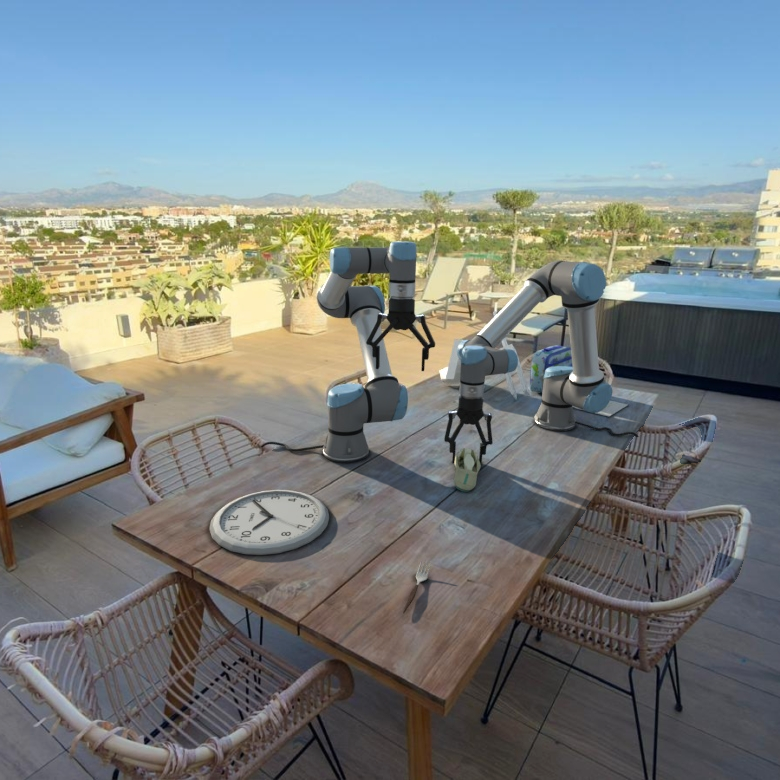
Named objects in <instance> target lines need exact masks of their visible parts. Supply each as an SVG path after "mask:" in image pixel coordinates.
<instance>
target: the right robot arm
mask: <svg viewBox="0 0 780 780" xmlns="http://www.w3.org/2000/svg"><path fill="white" fill-rule="evenodd" d="M522 284H523V285H522V288H521V289H520V290H519V291H518V292H517V293H516V294H515V295H514V297H512V298H511V299H510V300H509V301H508V302H507V303H506V305H504V307H502V309H500V311H498V312H497V315H496V316H495V317H494V316H493V317H492V319H490V321H489V322H488V323H487V324H485V326H483V328H481V330H480V331H479V332H477V334H476V335H475V336H474V337H473V338H472V339H463V340H464V341H462V342H461V343H460V344H459V346H458V348H457V355H458V358H459V359H460V360H461V372H460V383H459V388H458V393H459V396H458V407H457V410H455V411H454V410H453V411H452V410H448V413H447V415H448V416H447V417H448V421H447V425H446V429H445V433H444V438H443V439H444V440H443V441H444V442H445V443H448V444H449V450H448V451H449V453H450V454H452V461H451V462H452V464H455V457H456V447H457V442H456V440H457V438H458V436H459V434H460V432H461V431H462V429H463V427H464V425H472V426H475V429H476V430H477V434H478V436H479V438H480V441H481V442H479V453H478V459H479V461H480V464H481V466H482V464H483V456H485V455H486V454H487V447H488V446H489V445H491V446H492V445H493V443H494V442H493V434H492V424H491V423H492V419H493V415H492V413H491V412H484V410H483V407H484V397H483V396H484V392H485V381H486V377H488V376H489V377H490V376H495V375H502V374H504V375H505V374H506V373H509V372H510V373H513V372H515V371H516V370H517V369H516V368H517V366H518V359H519V356H518V357H517V355H518V353H517V354H516V353H515V352H514V351H513V350H511V349H503V350H498V349H499V348H497V346H498V345H500V343H502V340H503V339H504V338H505V337H506V338H507V337H508V336H509V334H510V333H511V332H512V331H513V330H514V329H515V328H516V327H517V326H518V325H519V324H520V323H521V322H522V321H523V320H524V319H525V318H526V317H527V316H528V315H529V314H530V313H531V312H532V311H533V310H534V309H535V308H536V306H537V305H538V304H539V303H544V302H546V301H547V300H548V299H549V298H550V297H553V296H558V297H561V306H562V308H564V309H565V310H567V320H568V321H567V322H568V328H569V329H568V333H569V341H570V347H571V354H572V365H573V367H569V366H555V367H549V368H547V369H546V370H545V375H544V379H543V391H542V393H541V402H540V405H539V407H538V410H537V411H536V413H535V414H534V417H533V418H534V424H535V425H536V426H537V427H539V428H542V429H544V430H549V431H556V432H567V431H572V430H574V429H575V428H576V425H579V426H581V427H586V428H588V429H591V430H594V431H605V430H606V431H608V432H609V434H610V435H611V436H614V437H623V436H627V435H633V436H634V437H636V438H639V437H640V436H639V435H638V434H637V433H636V432H634V431H627V432H626V431H625V432H621V433H616V432H613V430H612V428H610V427H607V426H602V427H596V426H593V425H590V424H587V423H583V422H581V421H576V418H575V417H576V416H575V413H574V407H577V408H580V409H582V410H581V411H584V412H587V413H592V414H596V413H597V412H600V411H602V410H603V409H604V408H605V407H606V406H607V405H608V403H609V402H610V401H612V400H611V399H612V397H613V386H612V385H611V384H610V383H608V382H605V374H604V371H602V370H601V369H600V368H599V367H600V366H599V355H598V352H599V351H598V339H597V324H596V323H597V322H596V310H595V309H596V308H595V306H596V305H598V303H599V302H600V298H601V297H602V296H603V295H604V293H605V289H606V287H607V279H606V274H605V272H604V270H603V269H602V268H601V267H600V266H599V265H597V264H595V263H590V262H588V261H570V260H569V261H568V260H555V261H551V262H548V263H547V264H545V265H544V266H542V267H541V268H539V269H538V270H536V271H535V272H534V273H532V274H531V275H530V276H529V277H528V278H527V279H526V280H525V281H524V282H523V283H522ZM580 409H579V410H580ZM456 417H457V418H458V419H459V420H458V424H457V425H456V427H455V429H454V431H453V433H452V434H451V430H452V426H453V421H454V419H455V418H456ZM482 418H483V419H484V420H485V422H486V431H487V439H486V437H485V434H484V431H483V428H482V426H481V423H480V420H481V419H482ZM450 434H451V436H450Z"/></svg>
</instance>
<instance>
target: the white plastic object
mask: <svg viewBox="0 0 780 780" xmlns="http://www.w3.org/2000/svg"><path fill="white" fill-rule="evenodd" d="M497 314H498V312H497V311H496V310H495V311H492V315H493V318H494V317H495V316H496V315H497ZM464 340H465V339H463V338H460V339H458V338H454V340H453V344H452V349H451V353H450V357H449V362H448V366H446V367H444V368H442V369H440V370H439V371H438V372H439V376H440V381H442V383H443V384H444V385H445V386H449V385H458V384H459V385H460V372H461V360H460V359H459V358H458V355H457V348H458V346H459V344H460V343H461V342H462V341H464ZM501 345H502V347H500V348H497V349H498V350H503V349H511V350H513V351H514V352H515V353H516V354H517V357H518V366H517V368H516V369H515V370H516V372H517V376H518V380H519V382H520V385H521V389H522V391H523V393H524V395H525V396H526V397H528V396H531V395H530V389H529V388H528V387H529V386H528V384H527V381H526V378H525V375H524V371H523V369H522V368H523V367H522V366H521V362H520V359H519V355H518V352H517V349H516V347H515V346H514V345H513V343H511V344H508V341H507V336H506V337H505V338H504V339H503V340H502V341H501ZM504 376H505V380H506V383H507V386H508V390H509V393H510V394H511V395H512V397H513V398H514V399H515V400H517V392H516V391H517V390H516V388H515V385H514V381H513V378H512V375H511V372H509V373H506V374H504Z"/></svg>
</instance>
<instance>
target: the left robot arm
mask: <svg viewBox="0 0 780 780" xmlns="http://www.w3.org/2000/svg"><path fill="white" fill-rule="evenodd" d="M329 251H330V252H329V258H328V259H329V260H328V261H329V262H328V263H329V268H330V272H329V275H328V277H327V279H326V281H325V283H323V284H321V286H320V287H319V289H318V290H317V293H316V302H317V305H318V306H319V308H320V310H321V311H322V312H324V313H325V314H326V315H328V316H330V317H332V318H335V319H349V320H350V323H351V324H352V326H354V327H355V328H356V331H357V337H358V341H359V345H360V350H361V355H362V359H363V365H364V369H365V374H366V378H367V382H366V383H365V384H364V385H363V384H361V383H357V382H355V383H353V382H347V383H342V384H339V385H336V386H333V387H332V388H331V389H330V390H329V391H328V393H327V401H326V407H327V427H328V428H327V430H328V431H327V435H326V438H325V440H324V444H320V445H314V446H307V447H301V448H290V447H289V445H287V444H286V443H282V442H279V441H278V442H277V441H266V442H264V443H262V444H261V445H260V446H259V447H260V448H264V447H265V446H269V445H274V446H275V445H276V446H280V447H284V448H285V449H286V450H287V451H290V452H295V453H296V452H297V453H298V452H304V451H309V450H310V451H311V450H316V449H322V448H323V449H322V455H323V457H324V458H325V459H327V460H329V461H332V462H336V463H344V464H345V463H355V462H359V461H362V460H364V459H366V458H367V457H368V456H369V453H370V452H369V451H370V449H369V445H368V442H367V438H366V436H365V432H364V424H373V423H382V422H393V421H399V420H402V419H404V418H405V417H406V414H407V411H408V406H409V405H408V404H409V394H408V389H407V387H406V385H404V384H399V379H398V377H396V376H394V375H393V373H392V369H391V365H390V360H389V357H388V351H387V348H386V343H385V340H384V338H385V337H386V336H387V335H388V334H389V333H390V332H391V331H392V330H395V331H399V330H402V331H408V330H409V331H410V332H411V333H412V335H414V337H415V338H416V340H418V342H419V343H420V345H421V346H422V349H421V368H420V369H421V372H425V367H426V365H425V364H426V360H427V361H428V360H429V358H430V350H431V349H432V348H435V347H436V342H435V339H434V337H433V335H432V332H431V331H430V328H429V326H428V324H427V321H426V315H425V314H423V313H422V314H420V315H416V312H415V311H416V309H415V307H416V299H415V298H414V297H416V275H417V257H418V254H417V244H416V243H415V242H414V241H391V242H390V243H389V246H383V247H375V246H373V247H371V246H370V247H361V246H359V247H357V246H356V247H355V246H341V247H333V248H332V249H330V250H329ZM366 274H367V275H371V274H375V275H376V274H377V275H378V274H379V275H380V274H381V275H382V274H388V296H389V298H388V313H387V314H386V313H385V311H386V304H385V301H386V300H385V297H384V294H383V292H382V290H381V288H379V287H378V286H376V285H370V284H369V285H368V284H365V285H352V284H353V283H354V280H355V279H356V277H357V276H358V275H366ZM385 320H387V321H388V323H389V324H388V325H387V326H386V328H385V329H384V330H382V327H381V325H382V322H384V321H385ZM416 321H417V322H418V323H419V324H420V325H421V327H422V330H423V332H424V334H425V336H426V339H427V340H428V342H427V340H426V339H425V338H424V336H423V335H422V334H421V333H420V332H419V330H418V329H417V327H416V326H415V325H414V323H415V322H416Z"/></svg>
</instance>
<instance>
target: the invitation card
mask: <svg viewBox="0 0 780 780" xmlns="http://www.w3.org/2000/svg"><path fill="white" fill-rule="evenodd" d="M628 406H629V404H627V403H623V402H618V401H614V400H610V402H609V403H608V405H607V406H606V407H605V408H604V409H603V410H602V411H600V412H597V413H595V414H596V415H600V416H604V417H608V418H609V417H611V416H613V415H614V414H616V413H617V412H619V411H621V410H623V409H624V408H626V407H628ZM573 409H575V410H581V411H583V410H582V409H580V408H577V407H575V406H573Z"/></svg>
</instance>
